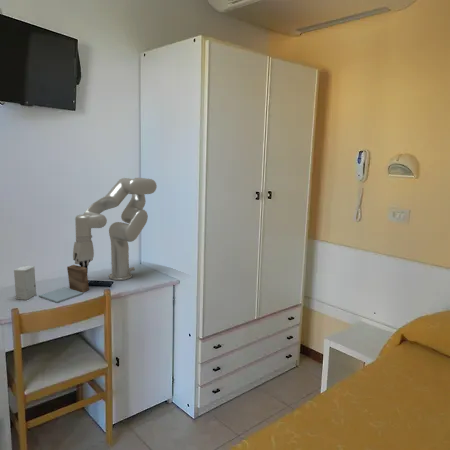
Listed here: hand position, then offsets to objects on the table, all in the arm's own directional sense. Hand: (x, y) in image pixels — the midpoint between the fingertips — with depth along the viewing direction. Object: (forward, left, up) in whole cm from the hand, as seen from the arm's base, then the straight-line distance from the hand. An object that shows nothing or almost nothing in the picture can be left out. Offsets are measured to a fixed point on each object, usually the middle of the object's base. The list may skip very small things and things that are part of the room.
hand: (84, 273), depth 221 cm
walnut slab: (+4, 0, -8) cm, 9 cm away
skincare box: (+26, -12, -8) cm, 29 cm away
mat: (+15, 0, -8) cm, 17 cm away
